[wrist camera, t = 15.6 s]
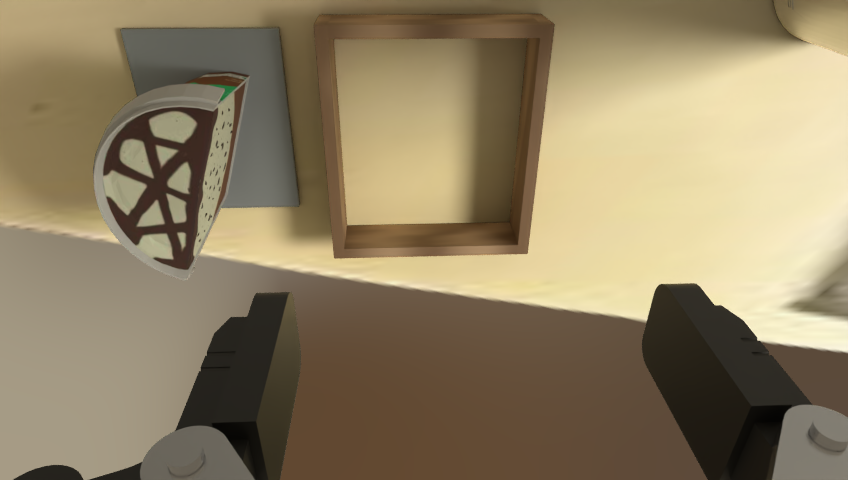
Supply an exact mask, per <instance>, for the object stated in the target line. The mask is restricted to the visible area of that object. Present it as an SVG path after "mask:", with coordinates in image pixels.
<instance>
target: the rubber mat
mask: <svg viewBox="0 0 848 480" xmlns="http://www.w3.org/2000/svg"><path fill="white" fill-rule="evenodd" d="M120 30H121V34H122V38H123V42H124V46H125V50H126V54H127V58H128V62H129V66H130V70H131V74H132V78H133V82H134V85H135V89H136V93H137V96H139V95H142V94H144V93H146V92H148V91H151V90H153V89H156V88H160V87H165V86H169V85H177V84H184V83H186V82H188V81H190V80H192V79H195V78H197V77H200V76H202V75H205V74H207V73H213V72H237V73H241V74H246V75H250V77H249V82H248V88H247V93H246V98H245V104H244V109H243V115H242V120H241V125H240V131H239V136H238V141H237V147H236V152H235V157H234V163H233V168H232V174H231V179H230V184H229V190H228V195H227V197H226V199H225V201H224V203H223V205H222V207H221V208H248V207H299V205H300V201H299V193H298V184H297V176H296V167H295V158H294V150H293V141H292V133H291V124H290V116H289V107H288V99H287V90H286V82H285V73H284V65H283V56H282V48H281V39H280V31H279V28H122V29H120Z"/></svg>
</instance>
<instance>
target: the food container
mask: <svg viewBox="0 0 848 480" xmlns="http://www.w3.org/2000/svg"><path fill="white" fill-rule="evenodd" d="M249 77H250V75H246V74H241V73H237V72H213V73H207V74H205V75H202V76H200V77H197V78H195V79H192V80H190V81H188V82H186V83H184V84H177V85H169V86H165V87H160V88H156V89H153V90H151V91H148V92H146V93H144V94H142V95H139V96H137V97H136V98H134V99H133V100H132V101H130V102H129V103H127V104H126V105H124V107H123V108H122V109H121V110H120V111H119V112H118V113H117V114H116V115H115V116H114V117H113V119H112V120H111V122H110V123H109V125H108V127H107V128H106V130H105V132H104V134H103V137H102V139H101V141H100V144H99V147H98V149H97V152H96V155H95V161H94V167H93V178H94V191H95V196H96V200H97V204H98V207H99V209H100V212H101V214H102V217H103V219H104V221H105V222H106V224H107V226H108V227H109V229H110V231H111V232H112V233H113V234H114V236H115V237H116V238H117V239H118V241H119V242H120V243H121V244H122V245H123V246H124V247H125V248H126V249H127V250H128V251H129V252H130V253H131V254H133V255H134V256H135V257H137V258H138V259H140V260H141V261H142V262H144V263H145V264H147V265H149V266H151V267H152V268H154V269H156V270H157V271H160V272H162V273H165V274H167V275H169V276H172V277H174V278H178V279H181V280H185V281H186V280H187V279H188V278H189V277H190V276H191V274H192V273H193V271H194V269H195V267H193V266H194V264H195V262H196V260H197V258H198V256H199V254H200V252H201V249H202V247H203V245H204V243H205V241H206V239H207V237H208V235H209V233H210V230H211V228H212V226H213V224H214V222H215V220H216V218H217V216H218V214H219V211H220V209H221V207H222V205H223V203H224V201H225V199H226V197H227V195H228V190H229V184H230V179H231V174H232V168H233V163H234V157H235V152H236V147H237V141H238V136H239V131H240V125H241V120H242V115H243V109H244V104H245V98H246V93H247V88H248V82H249Z"/></svg>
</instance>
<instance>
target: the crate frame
mask: <svg viewBox="0 0 848 480" xmlns="http://www.w3.org/2000/svg"><path fill="white" fill-rule="evenodd" d="M554 25H555V24H553V23H552V22H551V21H550V20H548V19H547V18H546V17H544V16H543V15H542V14H393V15H319V17H318V18H317V20H316V22H315V24H314V34H315V46H316V57H317V69H318V80H319V91H320V103H321V114H322V126H323V137H324V148H325V160H326V171H327V183H328V194H329V205H330V217H331V228H332V240H333V251H334V258H371V257H413V256H456V255H498V254H528V246H529V237H530V229H531V220H532V212H533V203H534V195H535V186H536V178H537V169H538V161H539V152H540V144H541V135H542V127H543V118H544V110H545V101H546V93H547V84H548V76H549V67H550V59H551V50H552V42H553V33H554ZM437 38H527V46H526V56H525V66H524V77H523V87H522V98H521V108H520V119H519V129H518V140H517V150H516V161H515V171H514V182H513V192H512V203H511V213H510V222H501V223H453V224H405V225H357V226H347V218H346V204H345V190H344V176H343V162H342V148H341V134H340V120H339V106H338V92H337V78H336V64H335V50H334V39H437Z"/></svg>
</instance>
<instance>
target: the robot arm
mask: <svg viewBox="0 0 848 480" xmlns="http://www.w3.org/2000/svg"><path fill="white" fill-rule="evenodd" d="M773 1H774V6H775V10H776V14H777V16H778V18H779V20H780V22H781V24H782V26H783V27H784V28H785V29H786V30H787V31H788V32H789V33H790V34H792V35H793V36H795V37H797V38H799V39H801V40H803V41H806V42H809V43H812V44H815V45H817V46H820V47H823V48H826V49H829V50H832V51H834V52H837V53H839V54H842V55H845V56H848V0H773ZM642 352H643V358H644V361H645V364H646V366H647V368H648V370H649V372H650V374H651V375H652V377H653V379H654V381H655V383H656V385H657V387H658V389H659V390H660V392H661V394H662V396H663V398H664V399H665V401H666V403H667V405H668V407H669V409H670V411H671V412H672V414H673V416H674V418H675V420H676V422H677V424H678V425H679V427H680V429H681V431H682V433H683V435H684V437H685V438H686V440H687V442H688V444H689V446H690V448H691V450H692V451H693V453H694V455H695V457H696V459H697V461H698V463H699V464H700V466H701V468H702V470H703V472H704V474H705V475H706V477H707V479H708V480H848V417H846V416H844V415H842V414H840V413H838V412H836V411H833V410H831V409H827V408H824V407H820V406H815V405H812V404H811V402H810V401H809V400H808V399H807V397H806V396H805V395H804V394H803V393H802V391H800V389H799V388H798V387H797V385H796V384H795V383H794V382H793V381H792V379H791V378H790V377H789V376H788V374H787V373H786V372H785V371H784V370H783V368H782V367H781V366H780V365H779V363H778V362H777V361H776V360H775V359H774V357H773V356H772V355H769V351H768V350H767V349H766V348H765V346H764V345H763V344H762V343H761V342H760V341H757V337H756V336H755V334H754V333H753V332H752V331H751V329H750V328H749V327H748V326H747V325H746V323H745V322H744V321H743V320H742V319H740V318H739V317H737V316H736V315H734V314H733V313H732V312H730V311H729V310H727V309H726V308H724V307H723V306H721V305H719V306H715V305H714V304H713V303H712V302H711V300H710V299H709V298H708V296H707V295H706V294H705V293H704V291H703V290H702V289H701V288H700V287H699V286H698V285H697V284H695V283H690V284H661V285H659V286H658V287H657V288H656V290H655V293H654V296H653V300H652V304H651V308H650V312H649V315H648V319H647V323H646V327H645V331H644V334H643V340H642ZM300 365H301V351H300V342H299V334H298V327H297V320H296V312H295V306H294V299H293V295H292V293H291V292H281V293H256V294H255V296H254V299H253V301H252V304H251V307H250V310H249V313H248V316H247V317H231V318H229V319H228V320H227V321H226V323H224V325H222V326H221V327H220V329H219V330H217V331H216V332H215V333H214V336H213V338H212V341H211V343H210V346H209V348H208V351H207V356H205V358H204V361H203V363H202V366H201V371H199V373H198V376H197V378H196V381H195V383H194V386H193V388H192V391H191V393H190V396H189V398H188V401H187V403H186V406H185V408H184V411H183V413H182V416H181V418H180V421H179V423H178V426H177V428H176V430H175V431H174V432H172V433H170V434H168V435H167V436H165V437H163V438H162V439H161V440H159V441H158V442H157V443H156V444H155V445H154V446H153V447H152V448H151V449H150V450H149V451H148V453H147V454H146V456H145V457H144V459H143V462H141V463H139V464H137V465H134V466H132V467H129V468H126V469H123V470H120V471H117V472H114V473H110V474H107V475H103V476H100V477H97V478H93V479H90V480H280V476H281V471H282V466H283V461H284V455H285V450H286V445H287V439H288V434H289V428H290V423H291V418H292V412H293V408H294V402H295V397H296V392H297V386H298V381H299V375H300ZM14 480H83V478H82V476H81V475H80V473H79V472H78V471H77V470H75V469H74V468H71V467H68V466H63V465H51V466H44V467H41V468H37V469H34V470H32V471H29V472H27V473H25V474H23V475H21V476H19V477H17V478H15V479H14Z"/></svg>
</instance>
